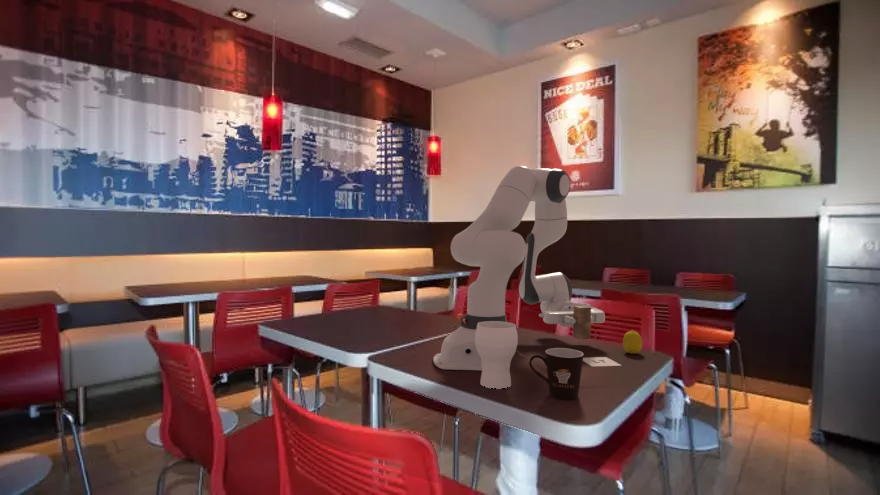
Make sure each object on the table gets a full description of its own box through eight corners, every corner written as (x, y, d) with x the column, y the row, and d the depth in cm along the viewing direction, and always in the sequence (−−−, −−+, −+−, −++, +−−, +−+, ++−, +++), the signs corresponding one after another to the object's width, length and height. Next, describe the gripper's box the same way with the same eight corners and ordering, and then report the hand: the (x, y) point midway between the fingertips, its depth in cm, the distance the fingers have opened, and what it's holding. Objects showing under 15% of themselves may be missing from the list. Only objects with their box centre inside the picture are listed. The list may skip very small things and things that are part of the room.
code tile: (591, 368, 125) (591, 366, 125) (578, 359, 134) (578, 357, 134) (621, 367, 126) (621, 365, 126) (606, 359, 135) (606, 356, 135)
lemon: (644, 357, 137) (645, 332, 137) (626, 357, 137) (627, 331, 137) (637, 353, 142) (637, 328, 142) (619, 352, 142) (620, 328, 142)
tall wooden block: (578, 339, 140) (578, 307, 139) (573, 336, 144) (573, 305, 143) (590, 339, 140) (590, 307, 140) (585, 336, 144) (585, 305, 144)
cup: (524, 389, 107) (525, 327, 106) (482, 393, 104) (483, 329, 104) (507, 376, 117) (507, 319, 117) (469, 379, 115) (469, 321, 114)
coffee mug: (589, 395, 103) (590, 352, 103) (571, 404, 97) (572, 359, 97) (545, 383, 111) (546, 344, 111) (526, 391, 105) (527, 350, 105)
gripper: (537, 305, 153) (552, 311, 139) (593, 304, 156) (613, 310, 142) (536, 323, 153) (551, 331, 140) (593, 321, 156) (613, 330, 142)
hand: (583, 321), depth 141 cm, fingers closed on tall wooden block, 4 cm apart
